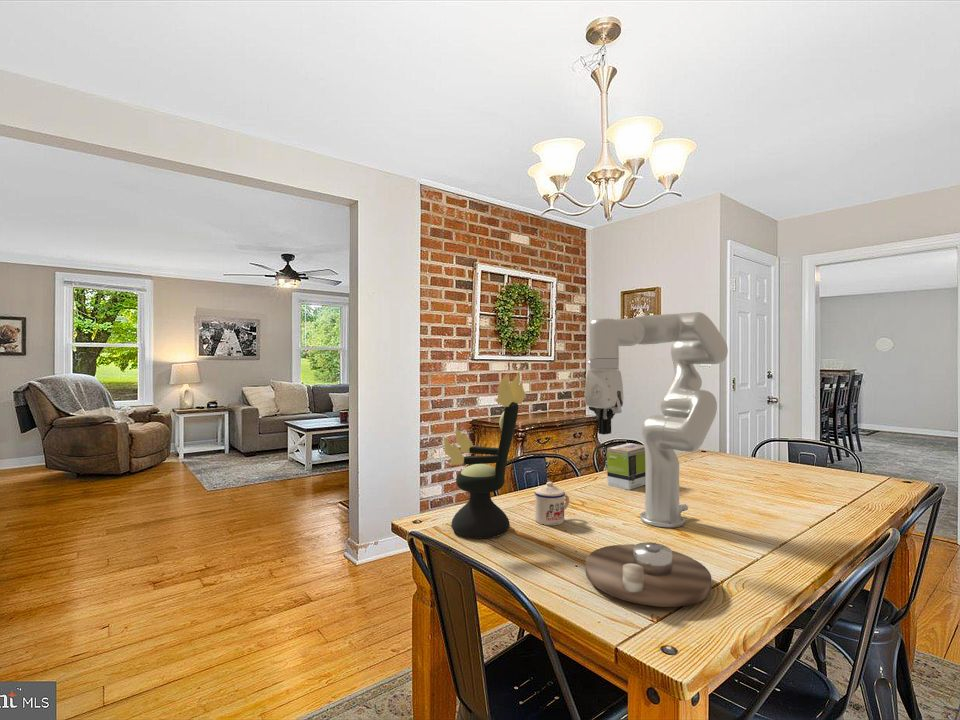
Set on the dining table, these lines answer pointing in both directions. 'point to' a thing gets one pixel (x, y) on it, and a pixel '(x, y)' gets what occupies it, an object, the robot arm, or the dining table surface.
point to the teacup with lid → (550, 504)
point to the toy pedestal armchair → (485, 470)
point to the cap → (653, 558)
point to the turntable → (647, 578)
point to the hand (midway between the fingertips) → (604, 433)
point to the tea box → (626, 466)
